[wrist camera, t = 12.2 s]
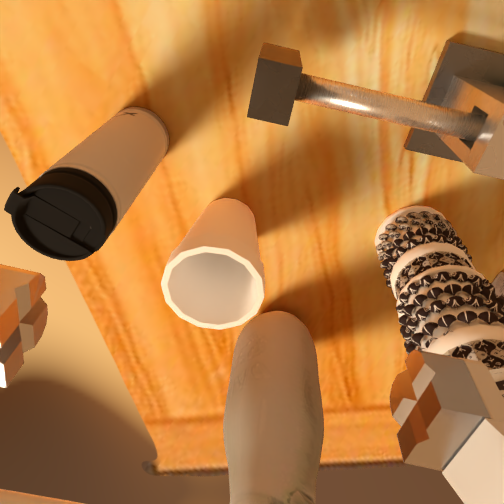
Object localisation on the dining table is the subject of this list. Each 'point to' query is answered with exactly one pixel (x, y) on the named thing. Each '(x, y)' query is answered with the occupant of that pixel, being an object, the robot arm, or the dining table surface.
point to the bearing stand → (467, 108)
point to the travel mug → (90, 187)
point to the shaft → (345, 98)
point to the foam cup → (217, 268)
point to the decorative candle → (440, 290)
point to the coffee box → (499, 285)
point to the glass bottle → (273, 413)
